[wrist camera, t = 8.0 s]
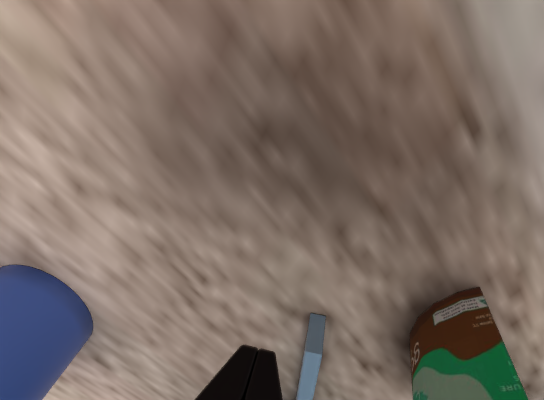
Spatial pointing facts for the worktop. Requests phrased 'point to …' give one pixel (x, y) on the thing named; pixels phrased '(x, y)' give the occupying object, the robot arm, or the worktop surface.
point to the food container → (461, 353)
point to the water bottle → (37, 331)
